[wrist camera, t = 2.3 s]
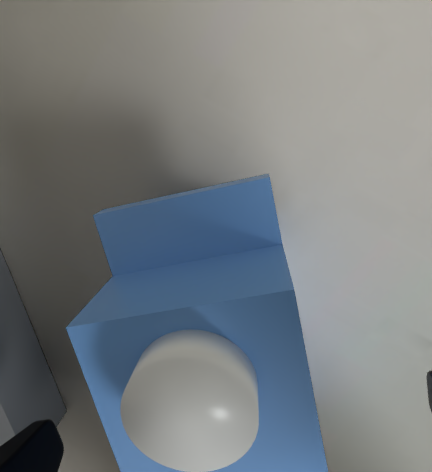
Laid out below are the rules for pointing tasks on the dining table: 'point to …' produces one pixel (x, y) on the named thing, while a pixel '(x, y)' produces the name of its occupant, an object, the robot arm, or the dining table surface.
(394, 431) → the dining table surface
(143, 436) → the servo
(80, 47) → the dining table surface
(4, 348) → the plate
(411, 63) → the dining table surface
